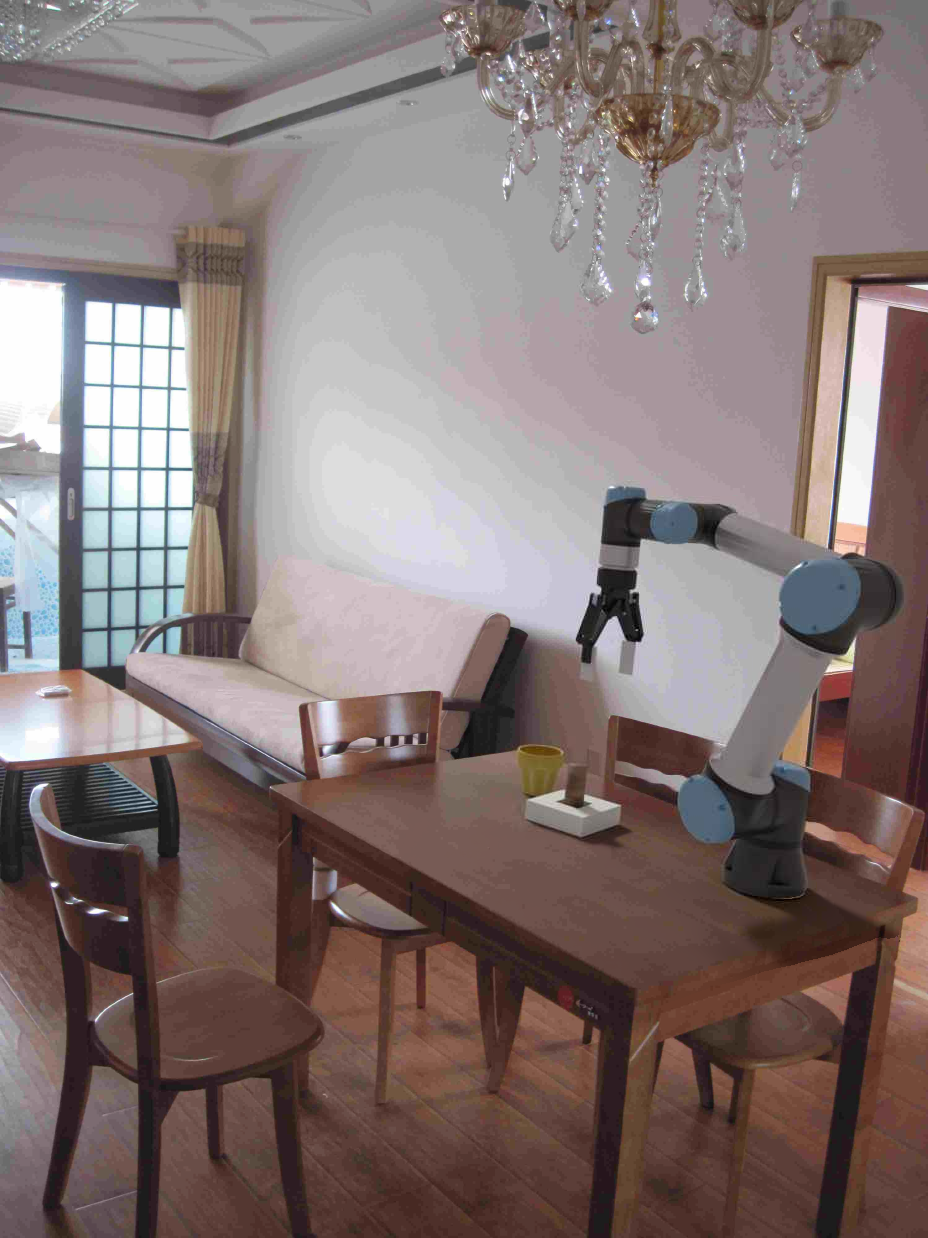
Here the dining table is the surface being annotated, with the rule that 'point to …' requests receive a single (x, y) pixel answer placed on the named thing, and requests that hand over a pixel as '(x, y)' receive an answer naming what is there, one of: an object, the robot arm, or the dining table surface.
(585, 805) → the socket block
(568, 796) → the peg
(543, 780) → the plant pot
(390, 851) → the dining table surface
